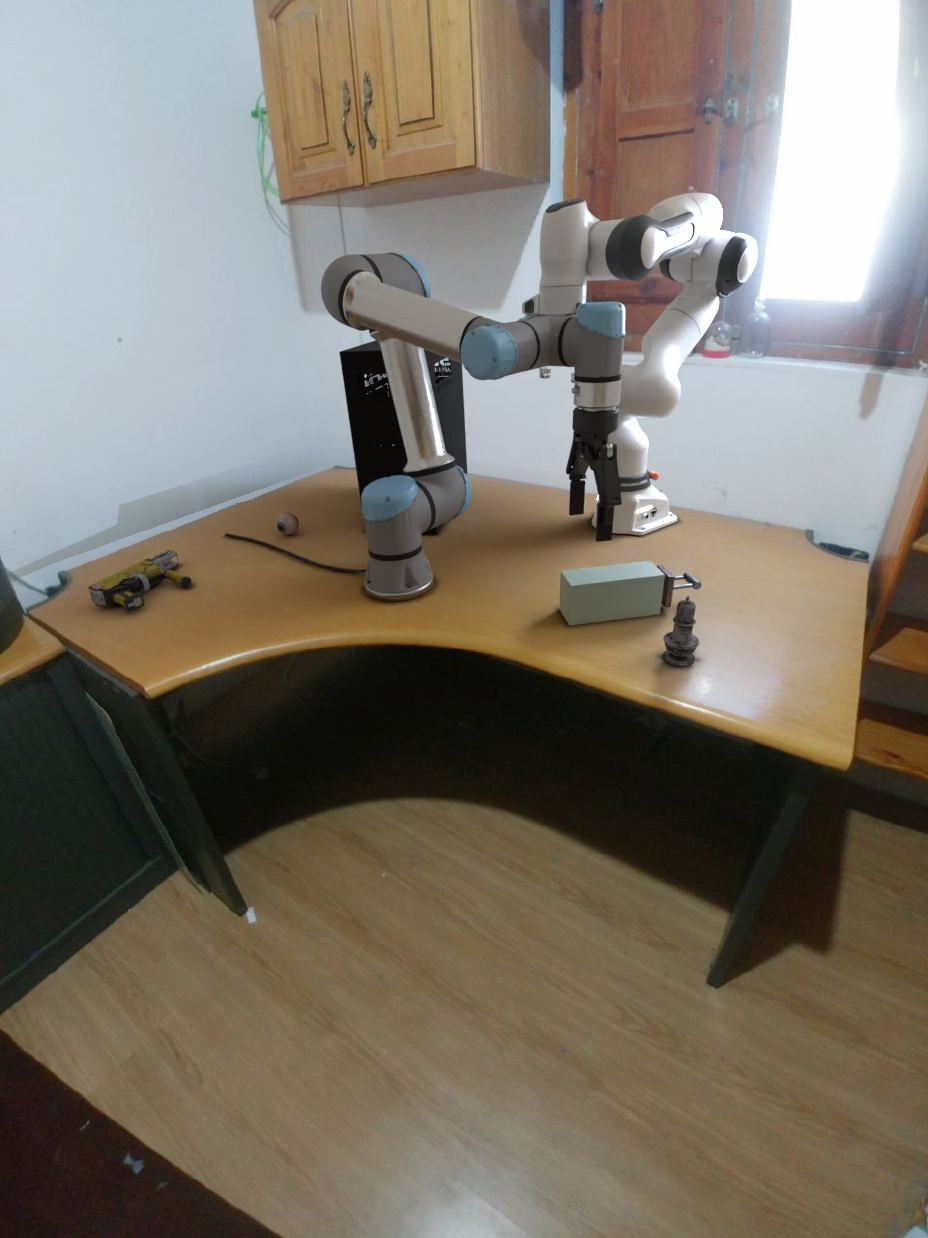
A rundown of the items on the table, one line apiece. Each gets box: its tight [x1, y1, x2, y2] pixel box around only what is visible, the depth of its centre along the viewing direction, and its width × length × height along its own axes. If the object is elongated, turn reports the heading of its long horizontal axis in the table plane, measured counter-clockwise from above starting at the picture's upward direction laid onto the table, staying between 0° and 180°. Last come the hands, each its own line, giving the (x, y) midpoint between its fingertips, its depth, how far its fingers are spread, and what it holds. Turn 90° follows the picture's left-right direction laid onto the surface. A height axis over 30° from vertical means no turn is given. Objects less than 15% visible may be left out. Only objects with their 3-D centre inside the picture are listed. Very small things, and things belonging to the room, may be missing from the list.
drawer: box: [656, 564, 702, 609], centre depth 118 cm, size 23×6×7 cm, turn 99°
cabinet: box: [558, 560, 665, 626], centre depth 118 cm, size 18×7×9 cm, turn 99°
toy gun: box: [87, 549, 193, 614], centre depth 138 cm, size 5×24×15 cm
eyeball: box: [275, 511, 300, 536], centre depth 163 cm, size 6×6×6 cm
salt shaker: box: [662, 595, 700, 667], centre depth 102 cm, size 6×6×12 cm
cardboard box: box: [339, 339, 468, 535], centre depth 166 cm, size 38×20×45 cm, turn 167°
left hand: (589, 526), depth 111 cm, fingers open, 13 cm apart
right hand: (560, 380), depth 121 cm, fingers open, 8 cm apart
